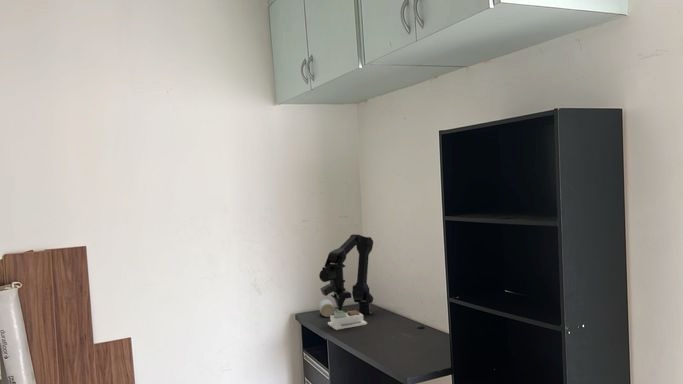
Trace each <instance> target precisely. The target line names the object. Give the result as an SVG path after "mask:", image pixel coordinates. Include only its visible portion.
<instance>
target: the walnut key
mask: <svg viewBox="0 0 683 384" xmlns="http://www.w3.org/2000/svg"><path fill="white" fill-rule="evenodd" d="M346 313H347V314H348V315H349V316H354V315H359V310H356V309H354V310H348V311H347V312H346Z"/></svg>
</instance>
